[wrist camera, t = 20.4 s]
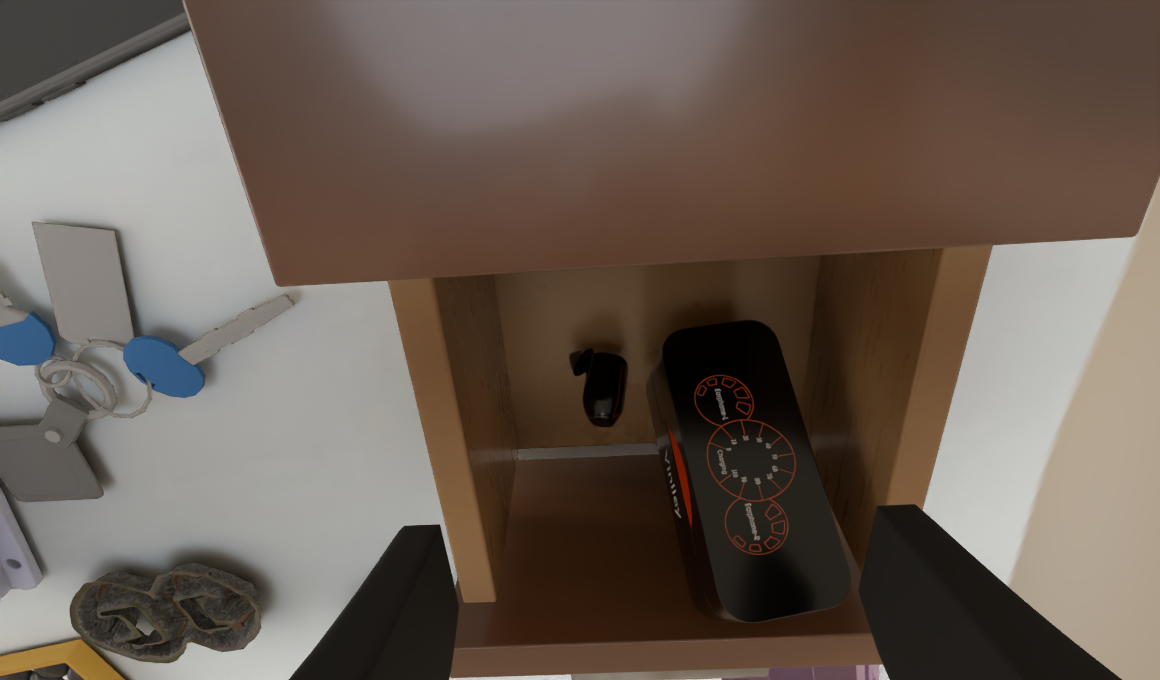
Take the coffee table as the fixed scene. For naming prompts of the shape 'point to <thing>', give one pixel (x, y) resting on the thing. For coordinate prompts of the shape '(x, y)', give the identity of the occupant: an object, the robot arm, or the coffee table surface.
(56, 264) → the key chain
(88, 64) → the smartphone
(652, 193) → the cabinet
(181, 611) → the corroded twin loop
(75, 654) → the orange and black box
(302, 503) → the coffee table surface
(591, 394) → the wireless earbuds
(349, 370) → the coffee table surface
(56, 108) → the coffee table surface
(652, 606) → the drawer
